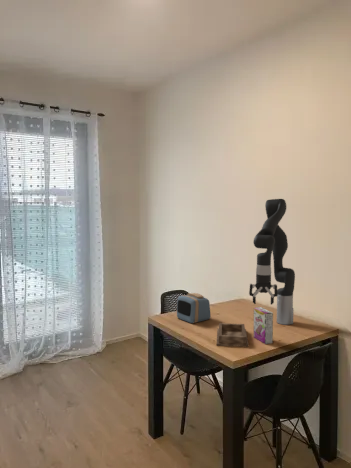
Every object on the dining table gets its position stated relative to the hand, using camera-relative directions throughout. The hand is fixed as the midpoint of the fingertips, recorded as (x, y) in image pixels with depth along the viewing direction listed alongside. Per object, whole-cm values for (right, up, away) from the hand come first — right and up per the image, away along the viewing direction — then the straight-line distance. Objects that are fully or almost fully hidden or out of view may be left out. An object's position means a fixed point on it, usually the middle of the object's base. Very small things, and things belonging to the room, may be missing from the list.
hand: (263, 303), depth 204 cm
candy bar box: (0, -20, +2) cm, 20 cm away
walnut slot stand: (-15, -19, +6) cm, 25 cm away
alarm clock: (-34, -17, +40) cm, 55 cm away
